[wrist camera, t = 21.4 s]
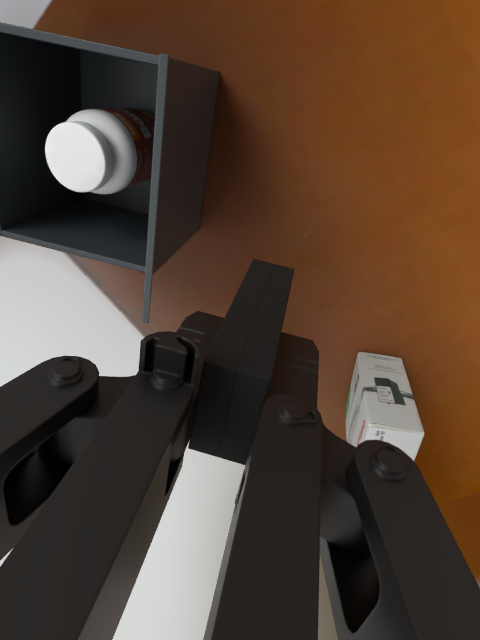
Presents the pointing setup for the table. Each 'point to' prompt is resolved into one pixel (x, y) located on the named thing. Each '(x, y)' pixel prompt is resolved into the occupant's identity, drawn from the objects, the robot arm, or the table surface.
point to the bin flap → (155, 180)
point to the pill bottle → (102, 150)
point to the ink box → (382, 404)
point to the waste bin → (98, 93)
